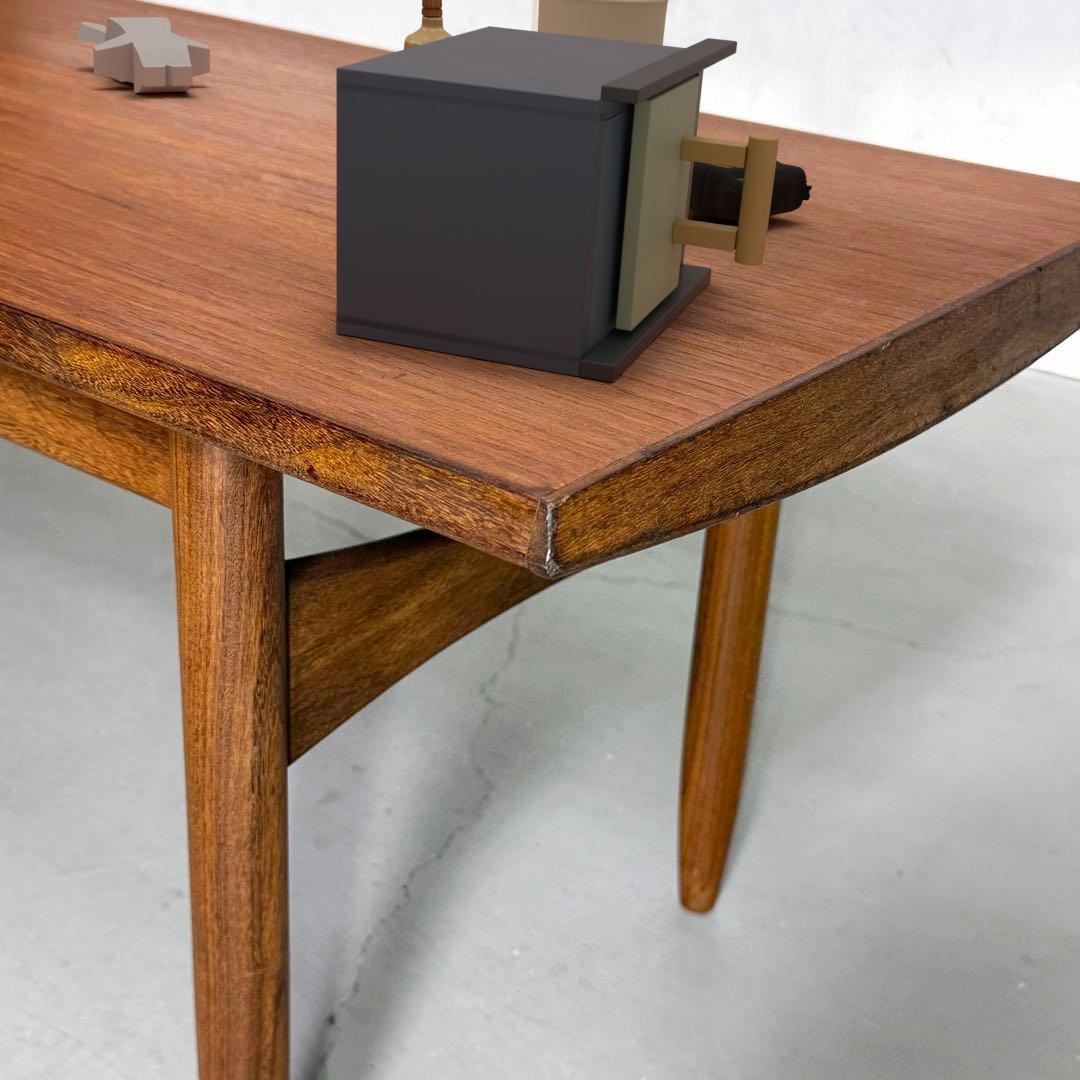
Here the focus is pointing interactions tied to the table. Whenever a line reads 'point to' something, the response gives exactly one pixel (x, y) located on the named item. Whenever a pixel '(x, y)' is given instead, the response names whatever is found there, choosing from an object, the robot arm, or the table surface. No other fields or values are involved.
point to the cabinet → (500, 196)
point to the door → (683, 199)
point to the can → (605, 19)
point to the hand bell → (428, 25)
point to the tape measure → (723, 186)
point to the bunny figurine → (145, 53)
